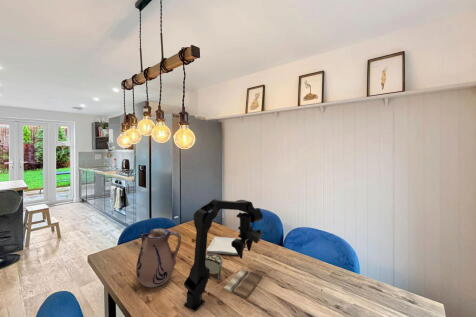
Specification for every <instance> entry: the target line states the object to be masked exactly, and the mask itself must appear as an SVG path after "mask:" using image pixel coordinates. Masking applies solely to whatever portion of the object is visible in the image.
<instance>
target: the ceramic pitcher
mask: <svg viewBox="0 0 476 317" xmlns="http://www.w3.org/2000/svg"><path fill="white" fill-rule="evenodd" d="M171 236H176V237H177V245H176V247H175V250H174V251H172V249H171V246H170V244H169V238H170V237H171ZM140 237H141V244H140V249H139V254H138V258H137V261H136V267H135V269H136V271H135V273H136V274H135V275H136V277H137V280H138V281H139V283H140V284H142V285H143V286H144V287H148V288H156V287H158V286H162V285H164V284H165V283H166V282H167V281H168V280H169V279H170V278H171V276H172V275H173V273H174V269H175V266H176V263H177V261H176V260H177V259H176V257H177V255H178V253H179V251H180V247H181V245H182V235H181V234H180V233H179V232H178V231H170V230H169V229H167V228H163V227H162V228H153V229H150V230H149V232H143V233H141V234H140Z"/></svg>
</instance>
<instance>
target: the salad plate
mask: <svg viewBox="0 0 476 317" xmlns="http://www.w3.org/2000/svg"><path fill="white" fill-rule="evenodd" d="M236 238H237V239H240V237H226V236H214V237H213V239H212V241H211V242H210V243H209V246H208V247H206V252H208V253H209V254H218V255H221V254H223V255H233V256H236V255H238V253H237V251H236V250H235V248H234V247H232V246H231V242H232V241H234V240H235V239H236Z"/></svg>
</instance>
